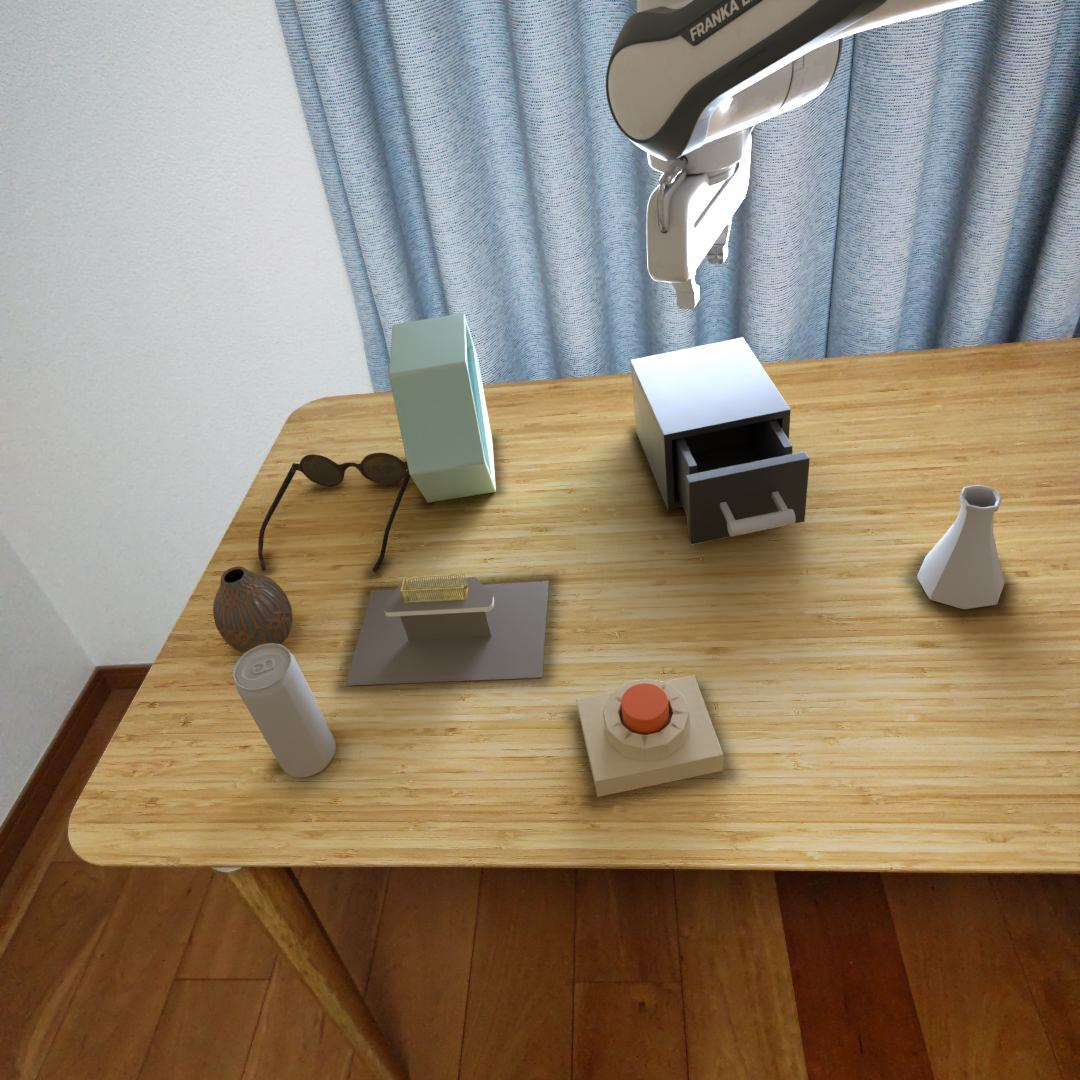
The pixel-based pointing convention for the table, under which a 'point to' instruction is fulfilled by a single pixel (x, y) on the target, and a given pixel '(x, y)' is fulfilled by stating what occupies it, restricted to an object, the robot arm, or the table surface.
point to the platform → (451, 632)
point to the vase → (251, 610)
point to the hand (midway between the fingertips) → (703, 282)
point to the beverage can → (284, 709)
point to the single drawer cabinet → (699, 400)
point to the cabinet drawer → (739, 481)
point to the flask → (966, 555)
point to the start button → (645, 708)
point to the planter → (441, 408)
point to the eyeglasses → (332, 474)
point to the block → (649, 739)
